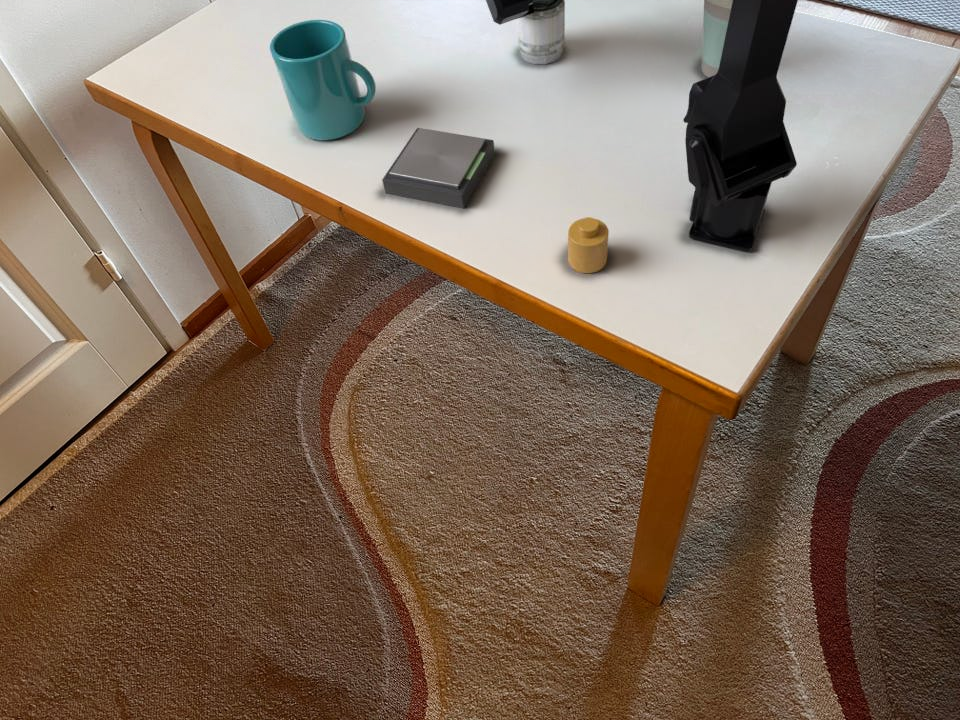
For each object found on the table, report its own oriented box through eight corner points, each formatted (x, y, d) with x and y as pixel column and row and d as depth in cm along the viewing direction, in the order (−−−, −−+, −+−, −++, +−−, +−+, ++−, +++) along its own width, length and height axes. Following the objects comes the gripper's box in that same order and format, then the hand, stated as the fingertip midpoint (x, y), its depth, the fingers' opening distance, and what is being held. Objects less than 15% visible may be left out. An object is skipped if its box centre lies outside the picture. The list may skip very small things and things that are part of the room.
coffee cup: (737, 44, 95) (756, -51, 85) (772, 77, 90) (797, -20, 80) (678, 60, 94) (691, -34, 84) (710, 95, 89) (728, -1, 79)
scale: (495, 153, 86) (493, 135, 84) (463, 208, 81) (461, 190, 79) (420, 141, 89) (416, 123, 87) (385, 193, 84) (380, 175, 82)
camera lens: (565, 64, 96) (565, 6, 90) (519, 67, 96) (515, 10, 90) (563, 38, 100) (563, -19, 93) (518, 42, 100) (515, -15, 94)
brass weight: (612, 251, 75) (614, 215, 71) (599, 277, 73) (601, 242, 69) (575, 242, 76) (576, 206, 72) (562, 268, 74) (562, 232, 70)
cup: (370, 149, 89) (349, 66, 80) (285, 138, 92) (255, 57, 83) (397, 106, 94) (379, 23, 85) (315, 97, 97) (290, 16, 88)
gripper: (628, -156, 79) (575, -82, 94) (476, -108, 75) (447, -40, 90) (662, -54, 81) (605, 2, 96) (515, -3, 77) (480, 47, 92)
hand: (535, 1), depth 94 cm, fingers closed on camera lens, 6 cm apart
